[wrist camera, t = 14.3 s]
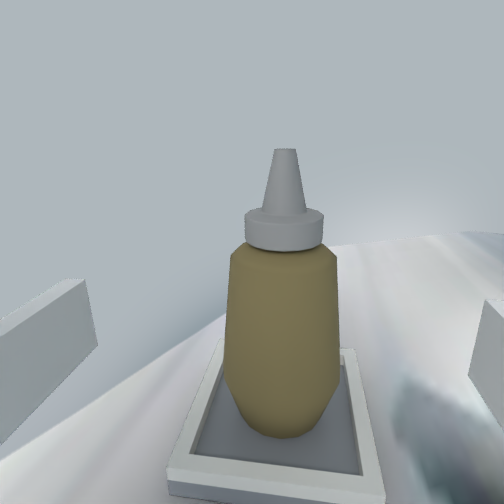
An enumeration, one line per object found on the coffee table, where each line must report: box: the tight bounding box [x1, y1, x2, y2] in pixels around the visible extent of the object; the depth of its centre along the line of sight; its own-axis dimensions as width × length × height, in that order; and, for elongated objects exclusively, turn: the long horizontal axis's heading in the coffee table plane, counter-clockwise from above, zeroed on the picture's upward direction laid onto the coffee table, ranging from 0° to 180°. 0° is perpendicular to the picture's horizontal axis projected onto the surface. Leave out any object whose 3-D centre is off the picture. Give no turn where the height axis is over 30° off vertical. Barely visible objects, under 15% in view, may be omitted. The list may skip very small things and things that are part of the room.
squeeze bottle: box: [223, 149, 340, 439], centre depth 22 cm, size 8×8×18 cm
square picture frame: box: [166, 339, 386, 504], centre depth 25 cm, size 12×13×2 cm
